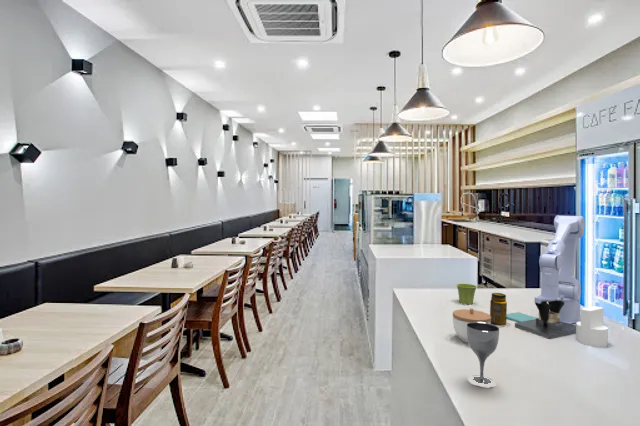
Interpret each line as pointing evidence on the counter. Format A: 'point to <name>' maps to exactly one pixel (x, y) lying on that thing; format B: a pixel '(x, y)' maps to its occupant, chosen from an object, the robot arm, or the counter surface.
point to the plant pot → (466, 293)
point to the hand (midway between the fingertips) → (549, 319)
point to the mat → (520, 317)
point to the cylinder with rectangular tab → (592, 328)
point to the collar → (552, 317)
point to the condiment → (498, 309)
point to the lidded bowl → (467, 320)
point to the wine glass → (482, 343)
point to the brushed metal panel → (547, 328)
